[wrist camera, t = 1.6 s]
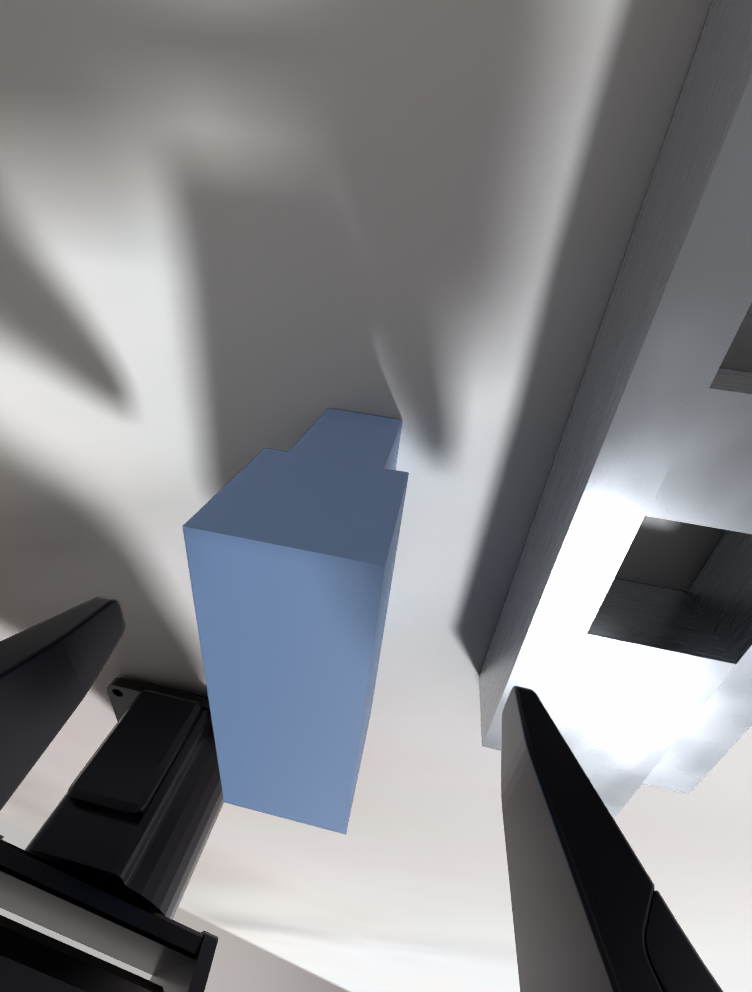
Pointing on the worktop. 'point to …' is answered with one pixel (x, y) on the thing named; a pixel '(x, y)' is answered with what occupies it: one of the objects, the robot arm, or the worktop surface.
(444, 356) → the worktop surface
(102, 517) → the worktop surface
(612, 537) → the rail
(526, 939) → the robot arm
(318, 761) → the blue notched pillar
